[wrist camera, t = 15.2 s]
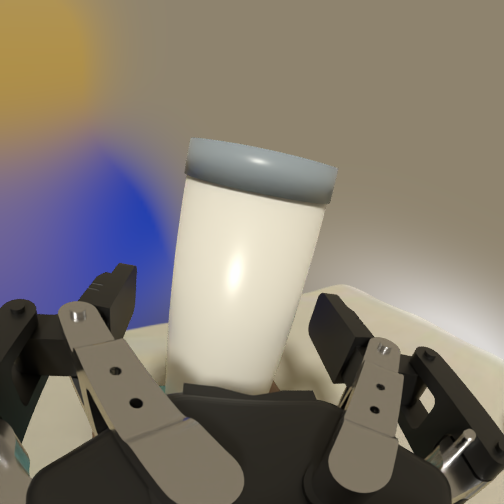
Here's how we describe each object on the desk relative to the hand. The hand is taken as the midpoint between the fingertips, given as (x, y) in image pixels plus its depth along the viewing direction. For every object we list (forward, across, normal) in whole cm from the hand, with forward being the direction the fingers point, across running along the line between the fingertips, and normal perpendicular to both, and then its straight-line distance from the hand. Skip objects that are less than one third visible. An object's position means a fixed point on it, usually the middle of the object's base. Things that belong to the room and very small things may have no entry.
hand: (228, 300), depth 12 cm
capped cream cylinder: (0, 0, -10) cm, 10 cm away
